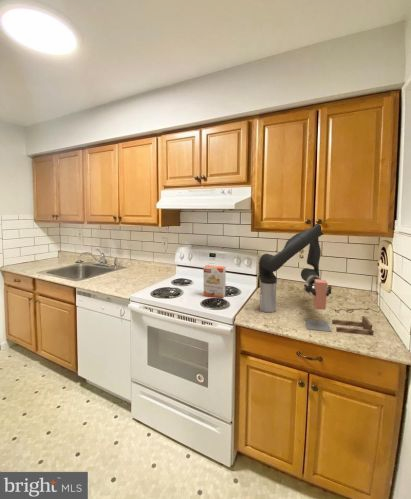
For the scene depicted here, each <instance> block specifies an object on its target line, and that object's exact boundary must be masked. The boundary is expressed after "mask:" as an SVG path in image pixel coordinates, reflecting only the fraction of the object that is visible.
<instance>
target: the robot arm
mask: <svg viewBox="0 0 411 499" xmlns="http://www.w3.org/2000/svg"><path fill="white" fill-rule="evenodd" d="M323 235H324V234H323V233H322V232H321V226H320V225H319V224H316V225H315V226H314V227H312V228H310V227H309V229H305V230H303V231H300V232H298V233H296V234H294V235H293V236H291V237H290V238H289V239H287V241H286V243H285V244H284V247H283V249H282V250H281V251H279V252H278V253H276V254H275V255H273V254H269V253H264V254H262V255H261V256H260V259H259V262H258V274H259V276H258V277H259V279H260V281H259V282H260V284H259V285H260V286H259V288H260V289H259V312H260V311H261V312H263V313H274V312H276V310H277V309H276V307H277V306H276V305H277V288H278V287H277V284H278V278H277V276H276V275H275V272H277V271H278V270H280V268H282V266H284V265H285V264H286V263H287V262H288V261H289V260H290V259H291V258H293V257H294V256H295V255H297V254H298V253H299V252H301V251H302V250H304V248H306V247H307V246H308V245H309V247H308V253H307V258H306V264H307V265H309V266H311V267H313V269H311V268H307V267H306V268H303V269H302V270H301V271H300V277H301V279H302V280H304V282H306V283H307V284H304V285H303V290H304V291H306V292H307V294H310V293H311V294H312V295H313V297H314V296H316V291H315V289H314V281H315V279H319V280H322V279H321V278H320V269H319V268H320V259H321V252H322V251H321V245H320V240H319V237H321V236H323ZM332 288H333V287H332V285H329V286H328V285H327V294H326V298H327V297H329V295H332Z"/></svg>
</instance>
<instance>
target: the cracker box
mask: <svg viewBox="0 0 411 499" xmlns="http://www.w3.org/2000/svg"><path fill="white" fill-rule="evenodd" d="M226 270H227V268H226V266H223V265H210V264H206V265H204V266H203V296H204V297H210V298H215V297H219V298H218V299H224V298H225V297H226V285H227V284H226Z"/></svg>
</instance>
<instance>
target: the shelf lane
mask: <svg viewBox="0 0 411 499" xmlns="http://www.w3.org/2000/svg"><path fill="white" fill-rule="evenodd" d="M331 323H332V325H343V326H344V327H342V326H336V327H335V331H336V332H338V333H348V334H355V335H356V334H357V335H358V334H359V335H370V336H373V335H374V333H375V332H374V330H373V324H372V323H371V322H370V321H369V319H368V318H367V317H366V316H362V318H361V321H358V320H357V321H356V320H345V319H334V318H333V319H331ZM345 326H353V327H345ZM355 327H362V328H355Z"/></svg>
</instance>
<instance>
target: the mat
mask: <svg viewBox="0 0 411 499" xmlns="http://www.w3.org/2000/svg"><path fill="white" fill-rule="evenodd" d="M304 322H305V326H306V329H307V331H319V332H329V333H331V332H333V331H332V329H331V328H330V325H329V323H328V321H327V320H319V319H309V318H305V319H304Z"/></svg>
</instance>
